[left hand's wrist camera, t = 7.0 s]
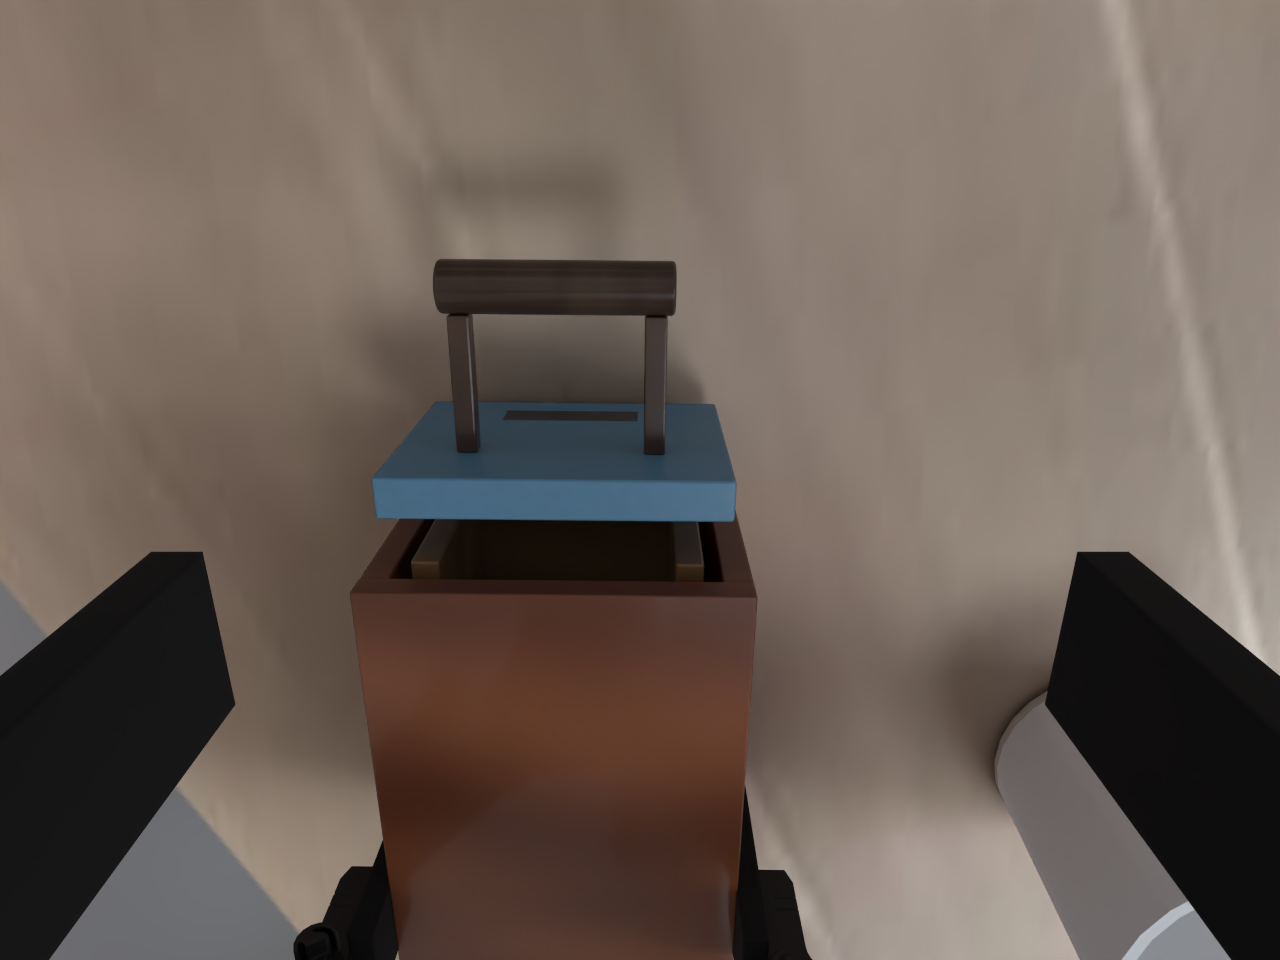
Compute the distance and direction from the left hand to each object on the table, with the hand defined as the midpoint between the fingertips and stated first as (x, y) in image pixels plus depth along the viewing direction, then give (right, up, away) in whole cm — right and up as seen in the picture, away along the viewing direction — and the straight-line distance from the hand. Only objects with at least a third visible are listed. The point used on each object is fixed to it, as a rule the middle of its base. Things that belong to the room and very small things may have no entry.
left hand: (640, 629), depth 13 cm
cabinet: (-2, -4, +20) cm, 21 cm away
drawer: (-2, +1, +17) cm, 17 cm away
